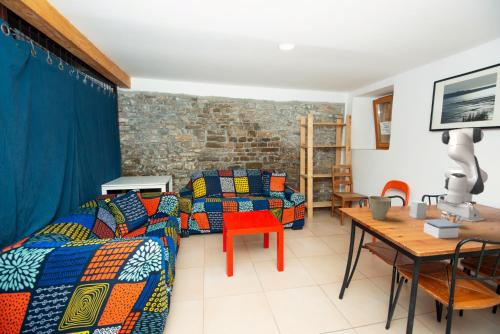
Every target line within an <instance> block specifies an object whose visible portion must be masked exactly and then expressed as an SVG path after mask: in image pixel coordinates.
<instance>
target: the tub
mask: <svg viewBox="0 0 500 334" xmlns="http://www.w3.org/2000/svg"><path fill="white" fill-rule="evenodd" d="M423 233H425V234H428V235H429V236H432V237H434V238H436V239H452V238H459V233H460V228H459V227H450V228H438V227H436V226H433V225H431V224H428V223H427V222H424V224H423Z"/></svg>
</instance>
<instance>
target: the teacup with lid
mask: <svg viewBox="0 0 500 334" xmlns="http://www.w3.org/2000/svg"><path fill="white" fill-rule="evenodd" d="M451 216H452V217H456V215H455V214H451ZM456 218H457V217H456ZM440 219H446V220H448V221H449V219H448V215H447V212H446V211H443V210H441V212H440ZM459 224H460V225H462V224H463V220H462V219H461V218H460V220H459Z"/></svg>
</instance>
